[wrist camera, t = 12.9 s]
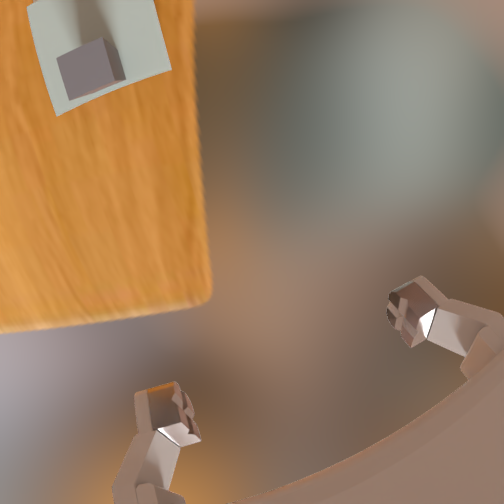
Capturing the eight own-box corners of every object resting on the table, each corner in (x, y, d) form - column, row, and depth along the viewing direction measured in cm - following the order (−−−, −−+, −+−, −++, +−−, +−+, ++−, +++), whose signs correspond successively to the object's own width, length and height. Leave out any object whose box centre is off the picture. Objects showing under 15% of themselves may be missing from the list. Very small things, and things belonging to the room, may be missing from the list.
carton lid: (171, 69, 23) (182, 65, 15) (58, 115, 22) (18, 137, 14) (142, -40, 16) (143, -86, 8) (28, 8, 15) (-18, -13, 7)
